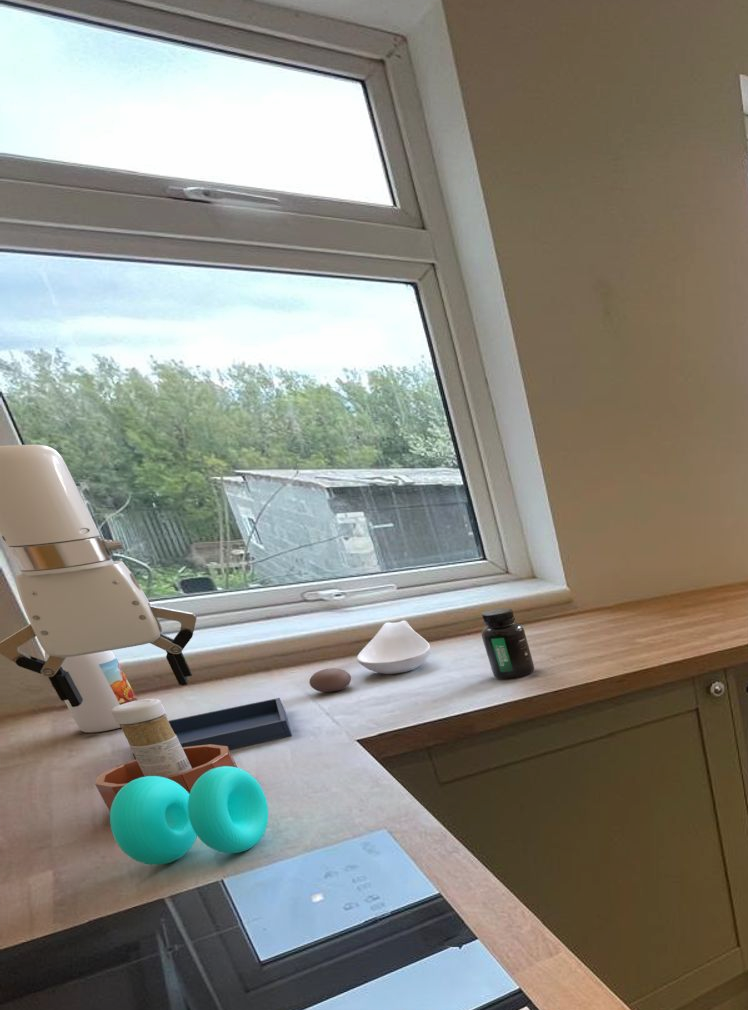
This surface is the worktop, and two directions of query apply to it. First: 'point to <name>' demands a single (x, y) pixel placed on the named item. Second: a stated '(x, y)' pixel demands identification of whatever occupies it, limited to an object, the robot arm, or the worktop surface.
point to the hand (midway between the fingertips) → (132, 693)
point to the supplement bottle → (506, 645)
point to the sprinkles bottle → (151, 737)
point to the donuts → (188, 815)
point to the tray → (234, 725)
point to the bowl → (199, 760)
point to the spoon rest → (394, 649)
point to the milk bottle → (97, 689)
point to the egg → (330, 680)
